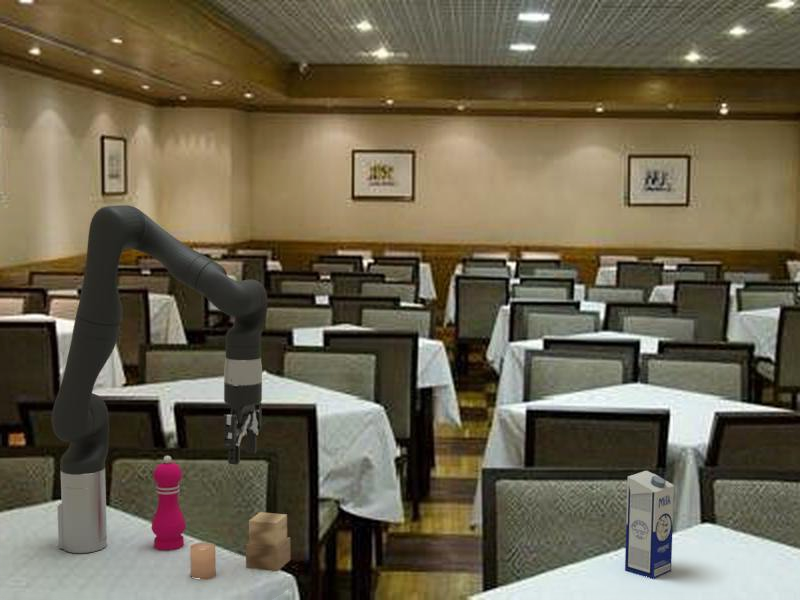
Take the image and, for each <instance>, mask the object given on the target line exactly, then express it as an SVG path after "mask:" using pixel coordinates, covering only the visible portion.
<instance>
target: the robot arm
mask: <svg viewBox="0 0 800 600" xmlns="http://www.w3.org/2000/svg"><path fill="white" fill-rule="evenodd" d="M86 248H87V249H86V260H85V269H84V275H83V279H82V280H83V281H82V284H81V285H82V286H81V292H80V296H79V300H78V301H79V302H78V306H77V310H76V315H75V319H74V323H73V324H74V325H73V329H72V335H71V340H70V345H69V351H68V354H67V359H66V364H65V368H64V373H63V376H62V380H61V382H60V386H59V389H58V392H57V396H56V399H55V402H54V405H53V407H52V412H51V426H52V430H53V432H54V434H55V436H56V437H57V438H58V439H59V440H61V441H62V442H65V443H70V445H69V447H68V449H66V451H65V452H64V453H63V455H62V456H61V458H60V462H59V463H60V466H59V467H60V492H61V493H60V495H61V503H60V504H58V505H57V529H58V533H57V534H58V549H61V550H64V551H65V552H68V553H74V554H85V553H86V554H88V553H94V552H98V551H100V550H102V549H105V547H107V545H108V543H107V542H108V540H107V539H108V533H107V531H108V530H107V529H108V527H107V525H108V524H107V498H106V497H107V493H106V491H107V487H106V460H107V456H108V453H109V447H110V446H109V442H110V441H109V439H110V437H109V436H110V415H109V410H108V406H107V405H106V403H105V401H104V399H103V398H102V397H101V396H100V395H98V394H95V393H93V392H94V388H95V387H94V386H95V384H96V382H97V379H98V377H99V375H100V373H101V371H102V370H103V368H104V367H105V365H106V363H107V362H108V360H109V359H110V357H111V355H112V353H113V351H114V349H115V348H116V347H115V346H116V344H117V341H118V338H119V333H120V330H121V329H120V328H121V324H122V318H123V305H122V301H121V296H120V293H119V288H118V284H117V283H118V281H117V278H118V268H119V264H120V260H121V256H122V253H123V251H126V250H127V251H128V250H135V251H138V252H140V253H143V254H145V255H148V256H150V257H152V258H154V259H155V260H157V261H158V262H159V263H161V265H163V267H164V268H165V269H166V270H167V272H168V273H169V274H171V276H172V277H173V278H174V279H176V280H178V282H180V283H182V284H183V285H185V286H187V287H188V288H191V289H192V290H194V291H195V292H197V293H198V294H200V295H203V296H204V297H205V299H207V301H209V302H210V303H211V304H212V305H213V306H214V307H215V308H216V309H217V310H219V311H220V312H222V313H223V314H225V315H227V316H229V317H232V318H234V323H233V326H231V328H230V329H228V331H227V332H226V334H225V361H224V368H223V371H224V373H223V402H224V403H225V404H226V405H229V406H230V407H231V408H230V414H229V413H227V414H226V413H224V414H223V418H222V422H223V423H222V445H226V446H227V448H228V449H227V451H228V452H227V453H228V454H227V463H228V464H229V465H233V466H234V465H235V466H237V465H238V464H240V462H241V461H240V460H241V442H242V439H243V437H244V436H245V437H244V438H245V439H244V440H245V441H244V445H245V446H244V451H245V453H246V454H250V455H255V454H256V453H257V447H258V445H257V436H258V435H259V431H261V430H262V426H263V424H262V422H263V419H262V414H263V413H262V411H263V410H262V399H263V365H262V333H263V329H264V325H265V321H266V316H267V311H268V303H269V302H268V294H267V291H266V289H265V286H264V285H263V283H261V282H260V281H258V280H257V279H244V280H239V281H237V280H235V279H233V278H231V277H229V275H228V273H227V270H226V269H225V267H223V266H222V265H221V264H220V263H218V262H216V261H215V260H213V259H212V258H210V257H207V256H206V255H204V254H202V253H200V252H199V251H196V250H195V249H193V248H192V247H190V246H188V245H186V244H185V243H184V242H182V241H181V240H179V239H177V238H176V237H175V236H173V235H172V234H170V232H168V231H166V230H165V229H164V228H162V227H161V225H159V224H158V223H157V222H155V221H154V220H153V219H152V218H151V217H150V216H148V215H147V214H145V213H144V212H143V211H142V210H141V209H139V208H138V207H136V206H134V205H126V204H124V205H123V204H121V205H107V206H102V207H101V208H98V210H97V211H96V212H95V213H94V214H93V216H92V218H91V220H90V224H89V229H88V238H87V247H86Z"/></svg>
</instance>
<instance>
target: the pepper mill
mask: <svg viewBox="0 0 800 600" xmlns="http://www.w3.org/2000/svg"><path fill="white" fill-rule="evenodd" d="M162 459H163V462H162V463H160V464H158V465H157V466H156V467H155V469H153V470H154V471H153V479H154V481H155V483H156V484H157V485H156V486H155V488H156V489H155V492H156V493H157V495H158V503H157V508H156V511H155V514H154V516H153V518H152V522H151V530H152V531H151V532H153V534H154V535H155V537H154V539H153V540H154V541H153V543H154V545H153V546H154V548H155V549H157V550H159V549H161V551H170V550H169V549H174V550H178V549H180V547H181V548H183V546H184V543H185V542H184V539H185V538H184V535H182V534H183V533H184V531H185V530H186V520H185V516H184V513H183V512H182V510H181V508H180V505H179V500H178V499H179V498H178V497H179V496H178V495H179V492H180V491H181V490H180V483H179V482H180V481H181V480H182V478H183V472H182V468H181V467H180V466H179V464H177V463H175V462H172V460H173V459H172V457H171V456H170V455H165V456H164V457H163V458H162ZM177 548H178V549H177Z"/></svg>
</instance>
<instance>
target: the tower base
mask: <svg viewBox="0 0 800 600" xmlns="http://www.w3.org/2000/svg"><path fill="white" fill-rule="evenodd" d="M290 561H291V537H288V536H287V538H286V539H285V540H284V541H283V542H282V543H280V544H279V545H278V546H277V547H272V546H262V545H252V544H249V542H247V544H245V568H246V569H256V570H264V571H274V572H279V571H280V570H281V569H282V568H283V567H284V566H286V565H287V564H288V563H289V562H290Z"/></svg>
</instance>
